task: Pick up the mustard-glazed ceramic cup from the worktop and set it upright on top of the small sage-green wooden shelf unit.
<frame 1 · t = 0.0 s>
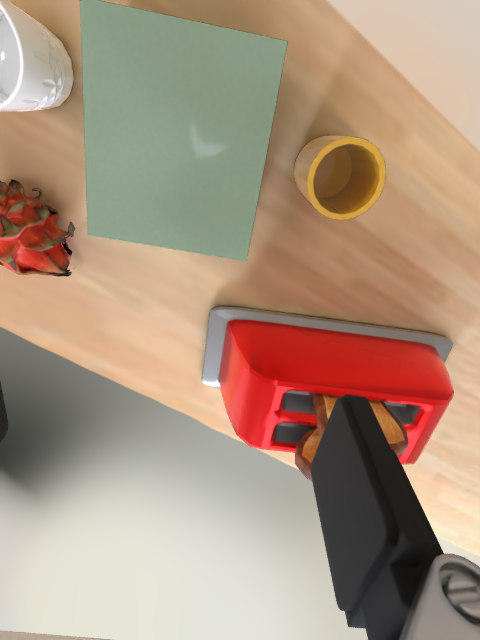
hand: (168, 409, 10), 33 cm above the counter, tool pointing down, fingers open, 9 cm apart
cup: (324, 169, 37), on the counter
shelf: (192, 144, 36), on the counter
toaster: (321, 357, 49), on the counter
dragon fruit: (42, 224, 40), on the counter
white cup: (38, 68, 33), on the counter
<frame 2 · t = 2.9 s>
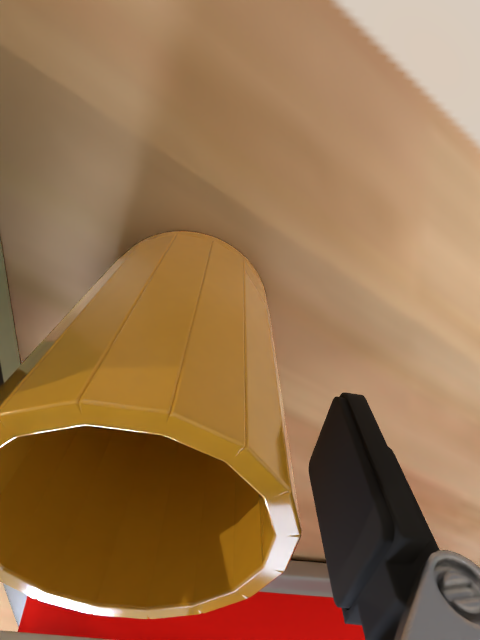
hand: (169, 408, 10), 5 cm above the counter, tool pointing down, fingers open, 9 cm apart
cup: (188, 309, 14), on the counter
toaster: (242, 597, 26), on the counter
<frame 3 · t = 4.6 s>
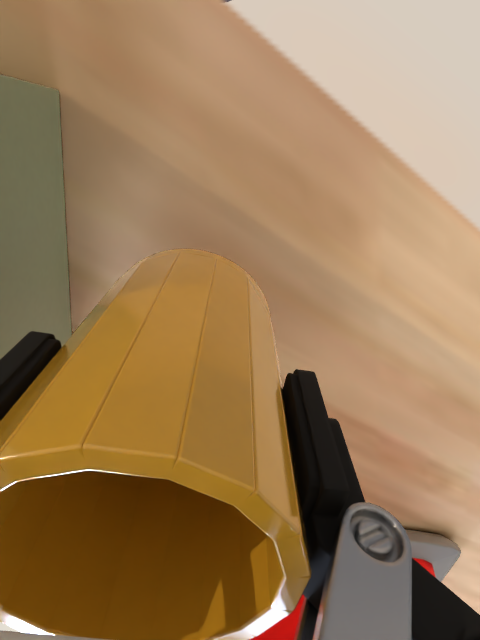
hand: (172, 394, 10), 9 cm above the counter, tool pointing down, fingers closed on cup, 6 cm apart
cup: (190, 326, 14), point 5 cm above the counter, touching gripper
toaster: (245, 557, 30), on the counter
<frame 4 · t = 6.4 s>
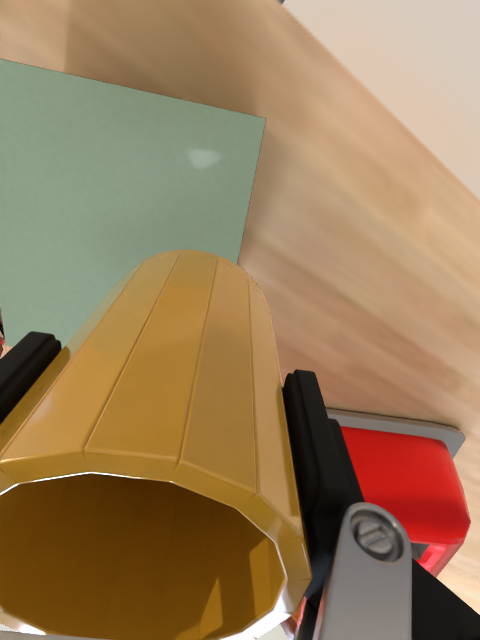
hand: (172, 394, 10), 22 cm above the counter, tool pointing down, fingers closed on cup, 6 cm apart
cup: (191, 327, 14), point 17 cm above the counter, touching gripper
shelf: (154, 213, 29), on the counter
toaster: (311, 446, 42), on the counter
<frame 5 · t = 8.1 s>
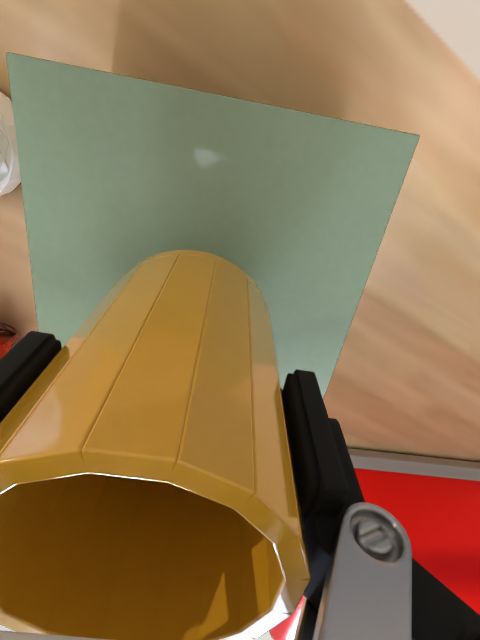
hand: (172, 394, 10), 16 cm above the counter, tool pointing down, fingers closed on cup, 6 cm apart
cup: (190, 327, 14), point 12 cm above the counter, touching gripper
shelf: (212, 242, 24), on the counter
toaster: (375, 491, 37), on the counter
when the fingers open (14 cm above the counter, at t = 9.2 s): cup stays where it is, resting on shelf.
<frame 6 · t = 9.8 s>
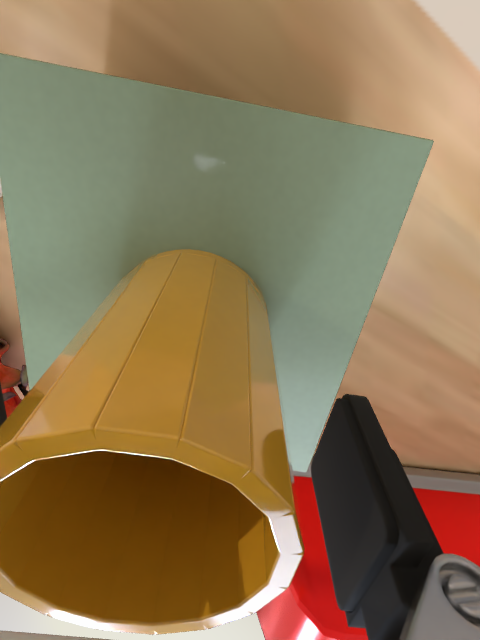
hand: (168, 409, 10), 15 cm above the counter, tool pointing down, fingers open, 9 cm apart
cup: (191, 324, 15), point 10 cm above the counter, touching shelf
shelf: (210, 250, 23), on the counter
toaster: (378, 505, 36), on the counter
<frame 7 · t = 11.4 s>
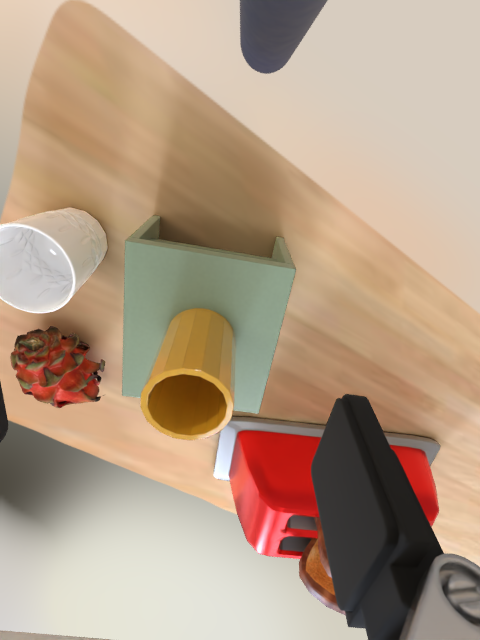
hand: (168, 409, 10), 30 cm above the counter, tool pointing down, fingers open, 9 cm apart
cup: (200, 339, 32), point 10 cm above the counter, touching shelf
shelf: (209, 294, 41), on the counter
toaster: (321, 454, 54), on the counter
dragon fruit: (74, 351, 45), on the counter
white cup: (77, 238, 38), on the counter
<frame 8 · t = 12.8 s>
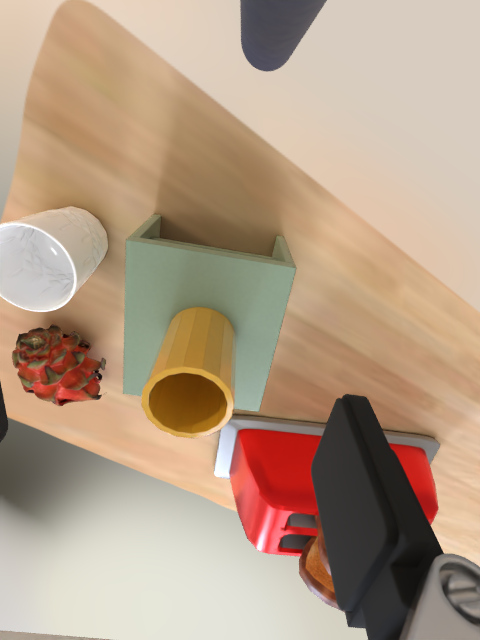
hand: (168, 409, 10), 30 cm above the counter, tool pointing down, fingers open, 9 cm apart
cup: (201, 337, 32), point 10 cm above the counter, touching shelf
shelf: (209, 293, 41), on the counter
toaster: (322, 453, 54), on the counter
dragon fruit: (75, 350, 45), on the counter
white cup: (78, 237, 38), on the counter
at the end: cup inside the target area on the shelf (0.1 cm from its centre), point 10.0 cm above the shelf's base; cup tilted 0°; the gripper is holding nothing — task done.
